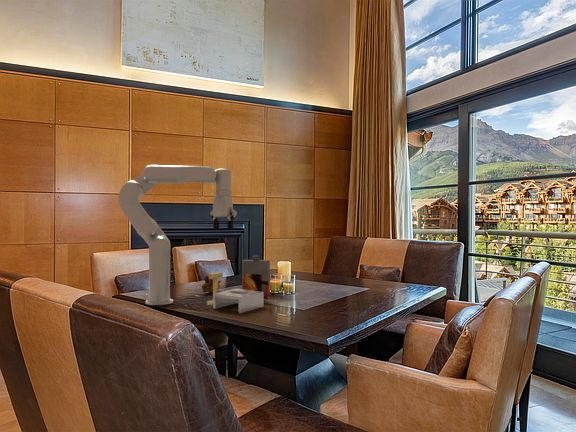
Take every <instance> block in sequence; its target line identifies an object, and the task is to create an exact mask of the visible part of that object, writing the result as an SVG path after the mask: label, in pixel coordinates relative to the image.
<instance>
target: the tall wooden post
mask: <svg viewBox="0 0 576 432" xmlns="http://www.w3.org/2000/svg"><path fill="white" fill-rule="evenodd" d="M208 274H209V279H213V292H212V294H213V293H218V292H219V288H218V281H219V279H221V278H223V272H213V273H212V272H211V273H208ZM206 305H207V306H209V307H211V306H212V307H213V299H212V300H207V301H206Z"/></svg>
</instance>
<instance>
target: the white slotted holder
mask: <svg viewBox="0 0 576 432" xmlns="http://www.w3.org/2000/svg"><path fill="white" fill-rule="evenodd" d="M264 296H265V294H264V292H260V291H252V290H244V289H242V288H232V289H228V290H223V291H218V293H213V292H212V300H213V306H212V307H213V308H212V309H215V310H216V309H219V308H224V307H227V306H228V307H229V306H232V305H236V304H238V313H239V314H242V313H246V312H250V311H253V310H257V309H260V308H264V303H265V301H264V300H265V299H264Z"/></svg>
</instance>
